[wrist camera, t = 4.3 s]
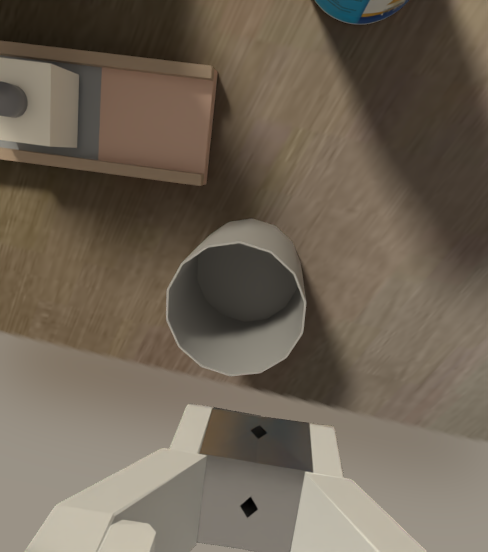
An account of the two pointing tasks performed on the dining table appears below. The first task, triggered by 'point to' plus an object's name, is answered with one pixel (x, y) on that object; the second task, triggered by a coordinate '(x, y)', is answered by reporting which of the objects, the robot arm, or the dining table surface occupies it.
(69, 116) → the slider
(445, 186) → the dining table surface
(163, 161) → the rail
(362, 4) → the beverage bottle
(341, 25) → the dining table surface
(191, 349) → the cup
